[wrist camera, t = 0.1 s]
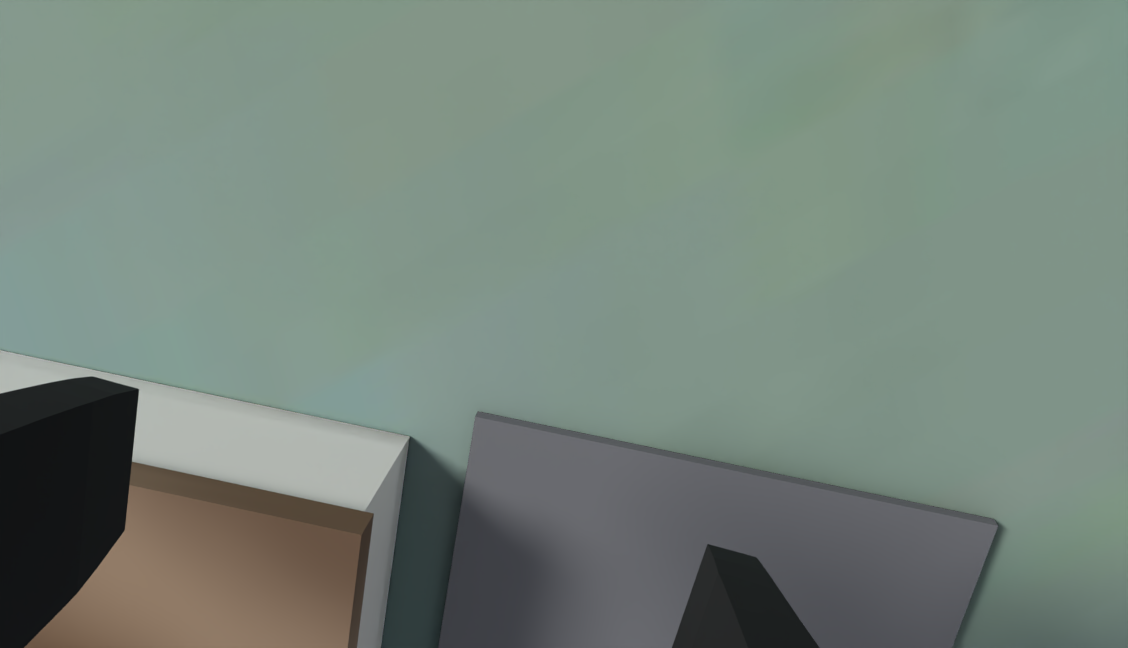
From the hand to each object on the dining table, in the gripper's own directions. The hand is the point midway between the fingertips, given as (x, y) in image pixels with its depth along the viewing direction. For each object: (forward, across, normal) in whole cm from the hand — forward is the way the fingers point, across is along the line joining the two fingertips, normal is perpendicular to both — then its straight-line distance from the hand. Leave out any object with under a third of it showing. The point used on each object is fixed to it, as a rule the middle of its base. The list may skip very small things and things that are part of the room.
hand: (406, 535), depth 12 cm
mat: (+10, -6, +9) cm, 15 cm away
